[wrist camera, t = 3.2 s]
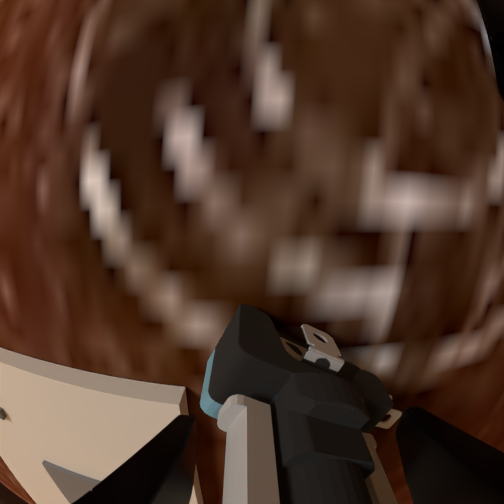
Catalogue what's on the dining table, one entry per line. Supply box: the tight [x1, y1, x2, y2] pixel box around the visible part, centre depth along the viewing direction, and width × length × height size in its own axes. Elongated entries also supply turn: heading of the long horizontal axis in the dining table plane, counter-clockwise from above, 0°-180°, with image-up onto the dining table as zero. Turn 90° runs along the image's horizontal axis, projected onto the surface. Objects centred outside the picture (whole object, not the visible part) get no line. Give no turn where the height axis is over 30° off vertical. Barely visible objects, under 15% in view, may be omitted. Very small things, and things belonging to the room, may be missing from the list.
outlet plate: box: [0, 348, 204, 504], centre depth 11 cm, size 14×16×1 cm
